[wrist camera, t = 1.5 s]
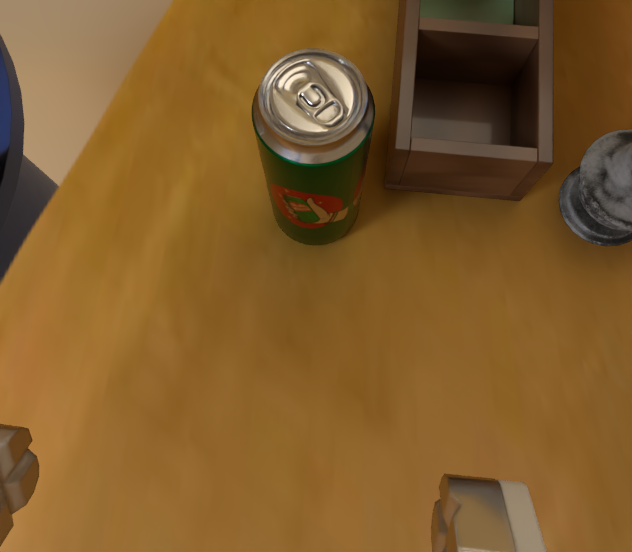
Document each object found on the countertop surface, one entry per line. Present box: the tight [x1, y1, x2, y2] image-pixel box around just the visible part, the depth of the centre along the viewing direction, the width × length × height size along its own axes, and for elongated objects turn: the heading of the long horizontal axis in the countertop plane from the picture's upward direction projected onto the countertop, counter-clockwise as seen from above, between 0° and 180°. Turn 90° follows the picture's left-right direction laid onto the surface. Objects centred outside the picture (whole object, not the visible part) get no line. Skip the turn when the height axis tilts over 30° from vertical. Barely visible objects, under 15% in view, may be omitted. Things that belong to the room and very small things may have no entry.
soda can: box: [252, 48, 375, 245], centre depth 28 cm, size 5×5×12 cm
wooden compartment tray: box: [384, 0, 553, 201], centre depth 34 cm, size 8×23×5 cm, turn 174°
